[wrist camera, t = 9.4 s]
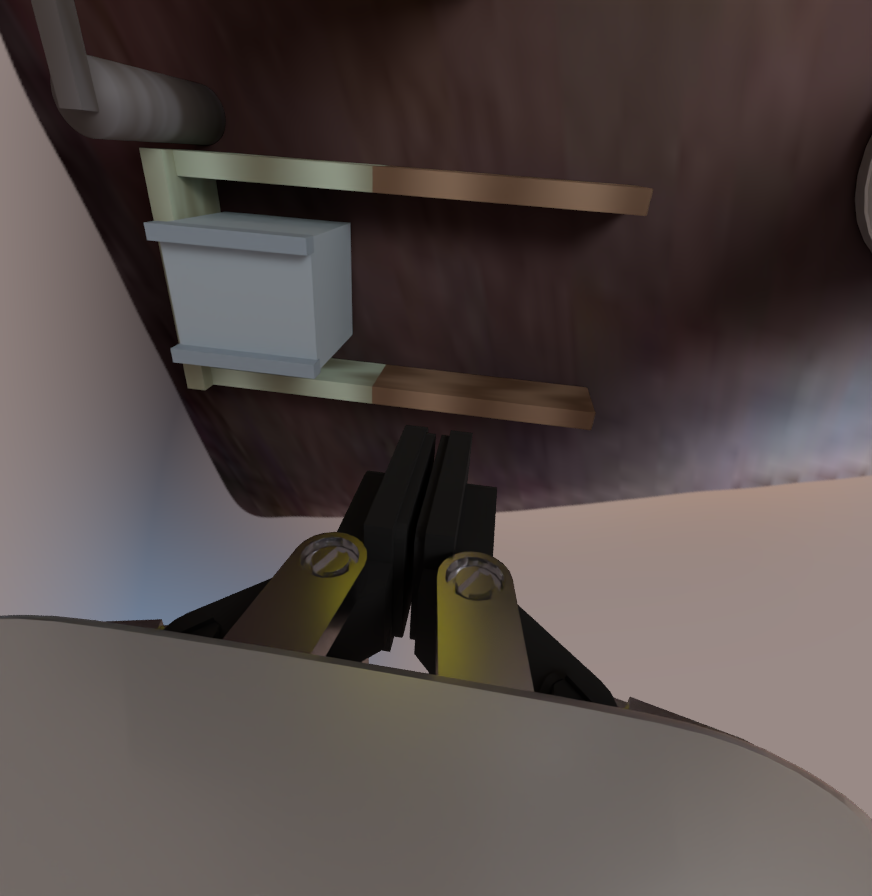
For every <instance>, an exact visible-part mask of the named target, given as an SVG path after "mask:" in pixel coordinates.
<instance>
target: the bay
mask: <svg viewBox="0 0 872 896" xmlns="http://www.w3.org/2000/svg"><path fill="white" fill-rule="evenodd" d="M31 2H32V6H33V10H34V13H35V17H36V21H37V25H38V29H39V32H40V36H41V40H42V44H43V48H44V51H45V55H46V59H47V63H48V67H49V70H50V74H51V90H52V95H53V98H54V101H55V103H56V106H57V108H58V109H59V111H60V113H61V115H62V116H63V117H64V119H65V120H66V121H67V122H68V124H69V125H70V126H71V127H72V128H74V129H75V130H76V131H77V132H79V133H80V134H82V135H84V136H86V137H89V138H94V139H110V140H127V141H144V142H161V143H178V144H196V145H211V144H214V143H216V142H217V141H218V140H219V139H220V138H221V137H222V135H223V133H224V130H225V122H226V120H225V112H224V109H223V106H222V104H221V102H220V100H219V98H218V97H217V95H216V94H215V93H214V92H213V91H212V90H211V89H210V88H208V87H207V86H205V85H203V84H200V83H196V82H192V81H188V80H184V79H180V78H176V77H172V76H168V75H164V74H160V73H156V72H152V71H148V70H145V69H141V68H137V67H133V66H129V65H125V64H121V63H117V62H113V61H109V60H105V59H101V58H97V57H93V56H89V55H86V51H85V47H84V42H83V38H82V34H81V29H80V25H79V21H78V16H77V12H76V8H75V3H74V0H31ZM139 150H140V155H141V160H142V165H143V170H144V175H145V180H146V185H147V190H148V195H149V199H150V204H151V209H152V214H153V219H154V221H166V222H167V221H173V220H179V219H184V218H190V217H196V216H202V215H208V214H214V213H220V212H221V211H220V204H219V197H218V189H217V182H216V179H221V180H232V181H244V182H256V183H268V184H279V185H291V186H303V187H314V188H326V189H338V190H349V191H361V192H373V193H384V194H396V195H408V196H419V197H431V198H443V199H455V200H466V201H478V202H490V203H501V204H513V205H525V206H536V207H548V208H560V209H571V210H583V211H595V212H606V213H618V214H630V215H642V216H647V212H648V208H649V204H650V200H651V196H652V192H653V189H651V188H646V187H640V186H634V185H621V184H609V183H597V182H584V181H572V180H560V179H547V178H535V177H522V176H510V175H498V174H485V173H473V172H461V171H448V170H436V169H423V168H411V167H399V166H386V165H374V164H362V163H349V162H337V161H324V160H312V159H300V158H287V157H275V156H263V155H250V154H238V153H225V152H213V151H201V150H184V149H159V148H139ZM158 244H159V249H160V254H161V259H162V263H163V268H164V273H165V278H166V283H167V288H168V293H169V298H170V303H171V308H172V313H173V318H174V322H175V327H176V332H177V337H178V342H179V344H180V340H179V335H178V330H177V325H176V320H175V315H174V310H173V305H172V300H171V295H170V290H169V285H168V280H167V275H166V270H165V265H164V260H163V255H162V250H161V245H160V241H158ZM183 367H184V372H185V377H186V382H187V386H188V388H191V389H199V390H206V389H208V388H209V387H211V386H212V385H213V384H215V385H223V386H231V387H239V388H248V389H256V390H264V391H272V392H281V393H289V394H297V395H305V396H313V397H322V398H330V399H338V400H346V401H355V402H363V403H371V404H379V405H388V406H396V407H404V408H412V409H421V410H429V411H437V412H445V413H454V414H462V415H470V416H478V417H487V418H495V419H503V420H511V421H520V422H528V423H536V424H544V425H553V426H561V427H569V428H577V429H586V430H591V428H592V425H593V421H594V417H595V410H594V407H593V404H592V401H591V398H590V395H589V392H588V389H587V387H578V386H570V385H561V384H552V383H544V382H535V381H526V380H517V379H509V378H500V377H491V376H482V375H474V374H465V373H456V372H447V371H439V370H430V369H421V368H412V367H404V366H395V365H386V364H377V363H369V362H360V361H351V360H342V359H334V358H330V359H329V360H328V361H327V362H326V363H325V364H324V366H323V367H322V368H321V369H320V370H321V372H320V374H319V375H318V376H317V377H316V378H315V379H311V378H302V377H294V376H285V375H277V374H268V373H260V372H251V371H243V370H235V369H226V368H218V367H209V366H201V365H192V364H184V363H183Z"/></svg>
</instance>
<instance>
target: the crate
mask: <svg viewBox="0 0 872 896" xmlns="http://www.w3.org/2000/svg"><path fill="white" fill-rule="evenodd" d="M144 227H145V232H146V237H147V240H151V241H160V245H161V250H162V255H163V260H164V265H165V270H166V275H167V280H168V285H169V290H170V295H171V300H172V305H173V310H174V315H175V320H176V325H177V330H178V335H179V340H180V344H178V345H176V346H174V347H172V348H171V354H172V358H173V362H175V363H184V364H192V365H201V366H209V367H218V368H226V369H235V370H243V371H251V372H260V373H268V374H277V375H285V376H294V377H302V378H311V379H315V378H316V377H317V376H318V375H319V374H320V372H321V370H320V369H321V368H322V367H323V366H324V364H325V363H326V362H327V361H328V360H329V359H330V358H331V357H332V356H333V355H334V354H335V353H336V352H337V351H338V349H339V348H340V347H341V346H342V345H343V344H344V343H345V342H346V341H347V340H348V339H349V338H350V337H351V336H352V284H351V230H350V223H346V222H335V221H324V220H313V219H302V218H291V217H280V216H269V215H258V214H247V213H236V212H220V213H214V214H208V215H202V216H196V217H190V218H184V219H179V220H173V221H167V222H166V221H150V222H144Z"/></svg>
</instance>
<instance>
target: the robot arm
mask: <svg viewBox="0 0 872 896" xmlns="http://www.w3.org/2000/svg"><path fill="white" fill-rule="evenodd" d="M855 208H856V218H857V224H858V226H859V229H860V232H861V235H862V238H863V240H864V242H865V244H866V245H867V246H868V248H869V249H870V251H871V252H872V136H871V138H870V140H869V142H868V144H867V146H866V148H865V152H864V155H863V158H862V162H861V165H860V168H859V172H858V175H857V184H856V193H855ZM472 435H473V433H469V432H460V431H452V430H451V432H450V436H446V435H442V436H441V440H440V443H439V447H438V451H437V454H436V458H435V461H434V454H435V440H436V435H435V434H430V433H428V428H427V427H419V426H411V425H406V426H405V428H404V430H403V433H402V435H401V437H400V440H399V442H398V445H397V447H396V449H395V452H394V454H393V456H392V459H391V461H390V463H389V466H388V468H387V471H386V473H382V472H374V471H367V472H366V474H365V475H364V477H363V479H362V481H361V483H360V486H359V488H358V490H357V492H356V494H355V496H354V498H353V500H352V502H351V504H350V506H349V508H348V510H347V512H346V514H345V516H344V518H343V521H342V523H341V525H340V527H339V529H338V531H337V532H330V533H322V534H319V535H315V536H313V537H311V538H309V539H307V540H305V541H304V542H302V543H301V544H300V545H299V546H298V547H297V548H296V549H295V551H294V552H293V553H292V554H291V556H290V557H289V558H288V559H287V560H286V562H285V563H284V564H283V565H282V566H281V568H280V569H279V570H278V571H277V573H276V574H275V575H274V576H273V578H271V579H268V580H266V581H264V582H261V583H259V584H257V585H254V586H252V587H249V588H247V589H244V590H242V591H240V592H237V593H235V594H232V595H230V596H228V597H225V598H223V599H220V600H218V601H216V602H213V603H211V604H208V605H206V606H203V607H201V608H199V609H196V610H194V611H191V612H189V613H187V614H185V615H183V616H181V617H179V618H177V619H176V620H174V621H173V622H172V623H170V624H169V625H163V622H162V619H159V620H158V619H157V620H132V621H106V622H103V621H96V620H87V619H78V618H68V617H59V616H38V615H8V616H0V896H872V819H871V818H870V817H869V816H868V815H867V814H866V813H865V812H864V811H863V810H862V809H860V808H859V807H858V806H857V805H855V804H854V803H853V802H852V801H851V800H849V799H848V798H847V797H846V796H845V795H843V794H842V793H840V792H839V791H837V790H836V789H834V788H833V787H831V786H830V785H828V784H827V783H825V782H824V781H822V780H821V779H819V778H817V777H816V776H814V775H812V774H811V773H809V772H808V771H806V770H804V769H802V768H800V767H798V766H796V765H795V764H792V763H790V762H789V761H787V760H785V759H783V758H781V757H779V756H777V755H775V754H773V753H771V752H769V751H767V750H765V749H763V748H760V747H758V746H755V745H754V744H752V743H750V742H748V741H746V740H744V739H741V738H739V737H736V736H734V735H731V734H728V733H725V732H723V731H720V730H717V729H715V728H712V727H710V726H707V725H704V724H701V723H699V722H696V721H694V720H691V719H688V718H685V717H683V716H680V715H677V714H675V713H672V712H669V711H667V710H664V709H661V708H659V707H656V706H653V705H651V704H648V703H645V702H643V701H640V700H637V699H634V698H632V697H630V698H629V700H628V702H624V701H622V700H619V699H616V698H614V697H613V696H612V694H611V692H610V691H609V690H608V689H607V688H606V686H605V685H604V684H603V683H602V682H601V681H600V680H599V679H598V678H597V677H596V676H595V675H594V674H593V673H592V672H591V671H590V670H588V669H587V668H586V667H585V666H584V665H583V664H582V663H581V662H580V661H579V660H577V659H576V658H575V657H574V656H573V655H572V654H571V653H570V652H569V651H568V650H567V649H566V648H564V647H563V646H562V645H561V644H560V643H559V642H558V641H557V640H556V639H555V638H553V637H552V636H551V635H550V634H549V633H548V632H547V631H546V630H545V629H544V628H543V627H542V626H540V625H539V624H538V623H537V622H536V621H535V620H534V619H533V618H532V617H531V616H529V615H528V614H527V613H526V612H525V611H524V610H523V609H522V608H521V607H520V606H519V605H518V604H517V599H516V594H515V589H514V584H513V579H512V576H511V574H510V571H509V570H508V569H507V568H506V566H505V565H504V564H503V563H502V562H500V561H499V560H497V559H496V558H494V557H493V546H494V530H495V514H496V498H497V488H496V487H489V486H481V485H473V484H467V480H468V471H469V462H470V453H471V444H472ZM410 606H411V620H410V639H413V640H415V651H414V654H415V655H416V656H417V658H418V659H419V660H420V662H421V663H422V664H423V665H424V667H425V668H426V669H427V670H428V672H429V674H427V673H421V672H415V671H409V670H403V669H397V668H391V667H385V666H379V665H373V664H369V660H368V659H369V657H371V656H372V655H374V654H376V653H378V652H379V651H381V650H383V651H389V652H390V650H391V646H392V643H393V638H394V636H395V637H401V638H402V637H403V634H404V631H405V626H406V622H407V618H408V614H409V610H410Z"/></svg>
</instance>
